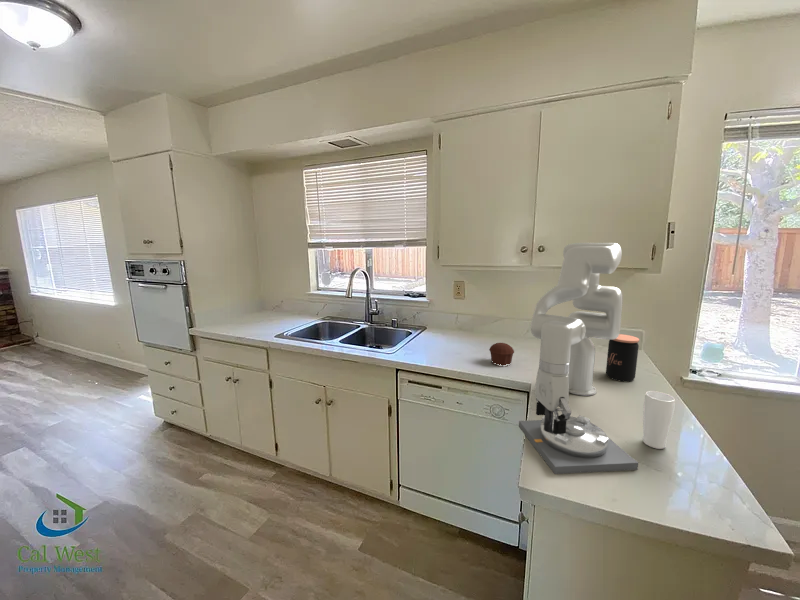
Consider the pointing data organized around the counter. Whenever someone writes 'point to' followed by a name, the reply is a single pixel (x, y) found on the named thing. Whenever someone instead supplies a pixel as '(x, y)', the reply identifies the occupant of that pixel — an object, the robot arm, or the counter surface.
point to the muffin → (501, 353)
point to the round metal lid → (575, 436)
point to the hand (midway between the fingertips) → (549, 423)
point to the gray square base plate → (568, 463)
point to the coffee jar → (622, 357)
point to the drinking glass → (657, 418)
